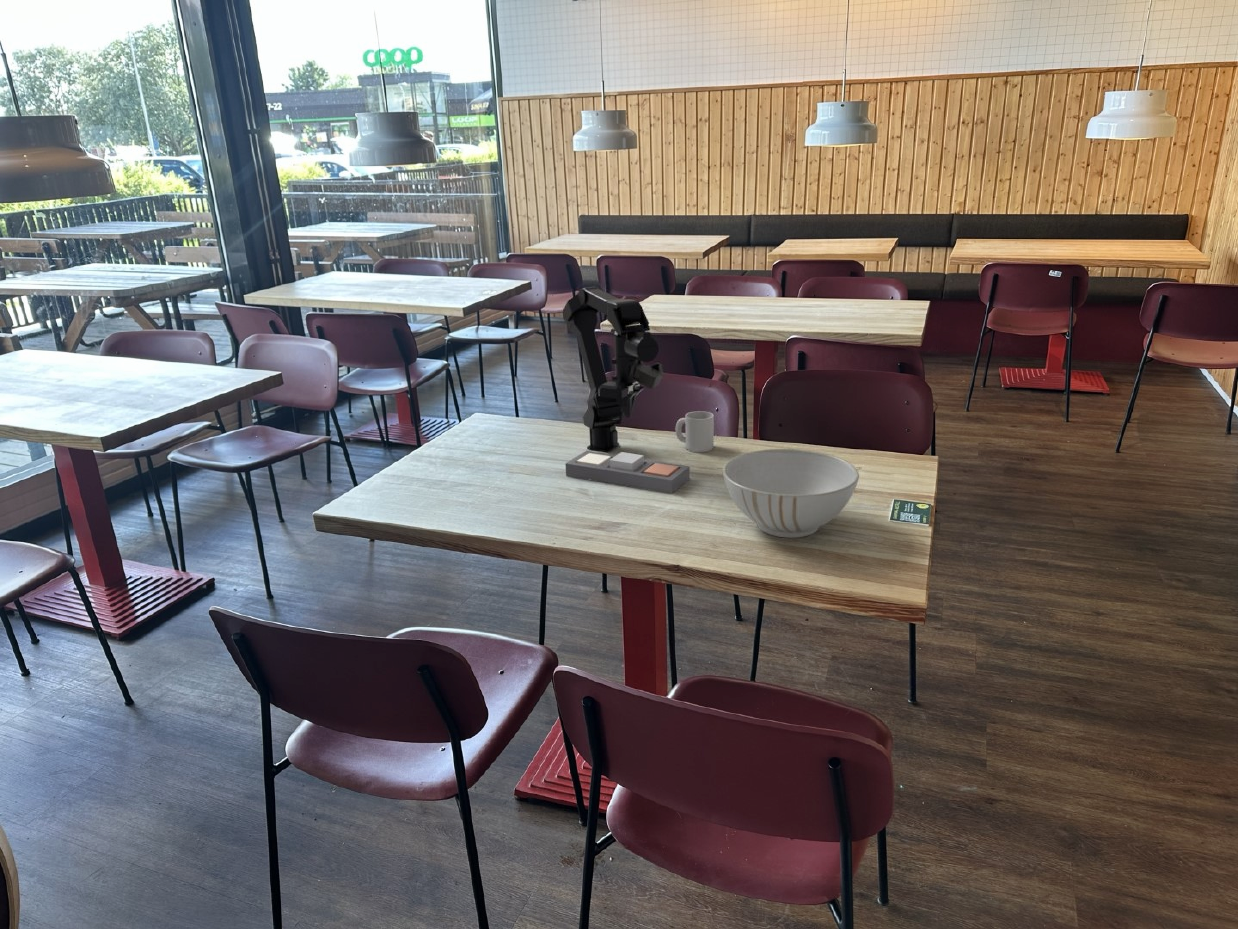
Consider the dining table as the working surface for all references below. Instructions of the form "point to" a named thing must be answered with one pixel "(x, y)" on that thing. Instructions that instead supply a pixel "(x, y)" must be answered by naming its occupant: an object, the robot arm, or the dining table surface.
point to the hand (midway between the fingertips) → (628, 416)
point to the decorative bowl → (790, 489)
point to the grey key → (627, 461)
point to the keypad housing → (629, 474)
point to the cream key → (594, 459)
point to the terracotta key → (661, 470)
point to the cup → (697, 431)
